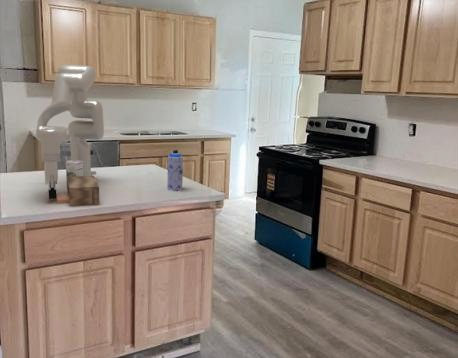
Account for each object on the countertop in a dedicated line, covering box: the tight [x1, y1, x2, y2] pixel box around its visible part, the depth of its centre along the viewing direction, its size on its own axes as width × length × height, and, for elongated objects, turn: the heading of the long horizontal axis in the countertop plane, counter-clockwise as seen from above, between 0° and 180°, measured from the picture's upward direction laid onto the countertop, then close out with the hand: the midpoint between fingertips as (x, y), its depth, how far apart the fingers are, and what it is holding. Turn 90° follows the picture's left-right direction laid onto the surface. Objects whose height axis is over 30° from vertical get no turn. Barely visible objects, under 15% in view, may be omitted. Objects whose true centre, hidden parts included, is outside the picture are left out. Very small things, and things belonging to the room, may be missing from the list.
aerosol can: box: [166, 149, 184, 192], centre depth 223 cm, size 8×8×20 cm
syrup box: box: [65, 159, 83, 192], centre depth 212 cm, size 6×6×14 cm
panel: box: [56, 193, 70, 205], centre depth 198 cm, size 14×10×2 cm
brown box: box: [66, 175, 100, 207], centre depth 199 cm, size 12×22×8 cm, turn 22°
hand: (52, 198), depth 195 cm, fingers closed
